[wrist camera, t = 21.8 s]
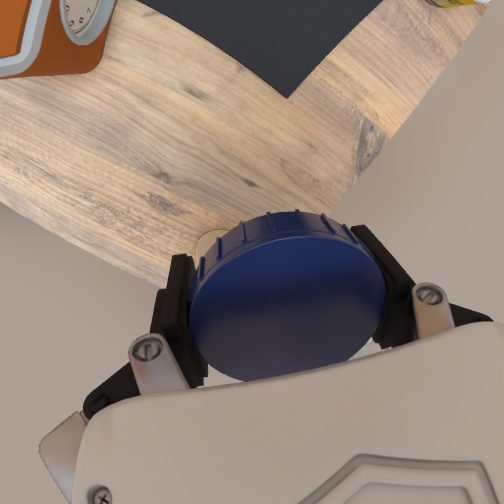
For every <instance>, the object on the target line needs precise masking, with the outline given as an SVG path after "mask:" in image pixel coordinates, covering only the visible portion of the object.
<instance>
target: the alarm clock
mask: <svg viewBox="0 0 504 504" xmlns="http://www.w3.org/2000/svg"><path fill="white" fill-rule="evenodd" d="M115 1H116V0H0V79H9V78H19V77H32V76H51V75H64V74H81V73H87V72H89V71H91V70H92V69H94V68H95V67H96V66H97V64H98V63H99V61H100V59H101V56H102V52H103V47H104V42H105V37H106V33H107V28H108V24H109V20H110V16H111V13H112V10H113V7H114V4H115Z"/></svg>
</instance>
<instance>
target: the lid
mask: <svg viewBox="0 0 504 504" xmlns="http://www.w3.org/2000/svg"><path fill="white" fill-rule="evenodd" d="M266 214H267V215H263V216H260V217H257V218H254V219H251V220H249V221H247V222H244V223H243V222H242V221H241V222H239V225H238V226H237V227H235V228H233V229H232V230H230V231H229V232H227V233H226V234H225V235H223V236H222V237H221V238H220V237H217V238H216V242H215V243H214V244H213V245H212V246H211V247H210V248H209V250H208V251H207V252H206V254H205V255H204V256H201V257H200V260H199V265H198V267H197V270H196V273H195V275H194V277H193V276H192V277H191V283H190V291H189V300H188V301H190V312H189V328H190V331H191V334H192V337H193V339H194V342H195V344H196V347H197V350H198V352H199V354H200V356H201V357H202V358H203V359H204V360H205V361H206V362H207V363H208V364H209V365H210V366H212V367H213V368H214V369H216V370H218V371H219V372H221V373H223V374H225V375H227V376H229V377H232V378H234V379H238V380H241V381H245V382H247V381H253V380H259V379H265V378H271V377H276V376H281V375H286V374H292V373H297V372H301V371H306V370H311V369H315V368H320V367H324V366H328V365H332V364H337V363H341V362H345V361H347V360H349V359H350V358H351V357H352V356H354V355H355V354H356V353H357V352H358V351H359V350H360V349H361V348H362V347H363V346H364V345H365V344H366V343H367V342H368V341H369V340H370V338H371V337H372V336H373V334H374V333H375V331H376V330H377V328H378V326H379V324H380V322H381V319H382V317H383V313H384V308H385V303H386V286H385V281H384V278H383V276H382V273H381V271H380V270H379V268H378V266H377V264H376V263H375V262H374V260H373V259H374V258H375V257H374V256H373V255H372V253H371V252H370V251H369V249H368V248H367V247H366V246H365V244H364V243H363V242H362V241H361V239H360V238H359V239H358V240H357V238H356V237H355V236H354V234H353V233H352V232H351V231H350V229H349V228H348V227H347V226H346V225H345V224H343V225H341V224H339V223H337V222H336V221H334V220H332V219H329V218H327V217H326V215H325V214H323V213H322V214H321V215H317V214H313V213H307V212H300V211H299V209H295V211H294V212H278V213H272V214H271V213H270V212H267V213H266Z"/></svg>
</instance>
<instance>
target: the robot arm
mask: <svg viewBox="0 0 504 504" xmlns="http://www.w3.org/2000/svg"><path fill="white" fill-rule="evenodd" d="M350 231H351V232H352V233H353V234H354V236H355V237H356V238H357V240H358V239H359V238H360V239H361V241H362V242H363V243H364V244H365V246H366V247H367V248H368V249H369V251H370V252H371V253H372V255H373V256H374V257H375V258H374V259H373V260H374V262H375V263H376V264H377V266H378V268H379V270H380V271H381V273H382V276H383V278H384V281H385V286H386V303H385V308H384V313H383V317H382V319H381V322H380V324H379V326H378V328H377V330H376V331H375V333H374V334H373V336H372V337H371V338H370V340H369V341H368V342H367V343H366V344H365V345H364V346H363V347H362V348H361V349H360V350H359V351H358V352H357V353H356V354H355V355H354V356H352V357H351V358H350V359H349V360H347V361H345V362H341V363H337V364H332V365H328V366H324V367H320V368H315V369H311V370H306V371H301V372H297V373H292V374H286V375H281V376H276V377H271V378H265V379H259V380H253V381H247V382H240V383H234V384H227V385H220V386H211V387H203V388H196V387H198V386H203V385H204V381H203V380H204V379H203V377H208V363H207V362H206V361H205V360H204V359H203V358H202V357H201V356H200V354H199V352H198V350H197V347H196V344H195V342H194V339H193V337H192V334H191V331H190V328H189V312H190V301H188V300H189V291H190V283H191V277H192V276H193V277H194V275H195V273H196V269H195V265H194V261H193V258H192V256H187V254H186V253H185V254H179V255H173V256H172V261H171V266H170V271H169V276H168V282H167V287H166V289H159V290H158V292H157V297H156V301H155V306H154V312H153V318H152V322H151V328H150V333H149V334H145V335H142V336H140V337H139V338H137V339H136V340H135V341H133V342H132V344H131V345H130V347H129V350H128V356H129V360H130V362H129V363H127V364H126V365H125V366H123V367H122V368H121V369H120V370H118V371H117V372H116V373H115V374H113V375H112V376H111V377H110V378H109V379H107V380H106V381H105V382H103V383H102V384H101V385H100V386H98V387H97V388H96V389H95V390H93V391H92V392H91V393H90V394H89V395H88V396H87V397H86V399H85V401H84V404H83V410H82V411H81V412H80V413H79V412H78V411H76V412H75V413H73V414H72V415H71V416H69V417H68V418H67V419H66V420H65V421H64V422H62V423H61V424H60V425H58V426H57V427H56V428H55V429H53V430H52V431H51V432H50V433H49V434H47V435H46V436H45V437H44V438H43V439H42V440H41V442H40V445H39V454H40V457H41V458H42V460H43V462H44V464H45V466H46V467H47V469H48V471H49V473H50V474H51V476H52V478H53V479H54V481H55V483H56V484H57V486H58V488H59V489H60V491H61V492H62V494H63V495H64V497H65V498H66V500H67V501H68V503H69V504H504V324H503V323H498V322H494V321H493V320H492V319H491V318H490V317H489V316H487V315H484V314H482V313H479V312H476V311H472V310H469V309H466V308H463V307H460V306H457V305H454V304H450V303H449V302H448V299H447V295H446V293H445V292H444V290H442V288H440V287H439V286H437V285H435V284H432V283H419V284H417V285H416V284H415V282H414V281H413V280H412V279H411V277H410V276H409V275H408V274H407V273H406V271H405V270H404V269H403V268H402V267H401V265H400V264H399V263H398V262H397V261H396V259H395V258H394V257H393V256H392V255H391V254H390V253H389V251H388V250H387V249H386V248H385V247H384V246H383V244H382V243H381V242H380V241H379V240H378V239H377V238H376V237H375V236H374V234H373V233H372V232H371V231H370V230H369V229H368V228H367V227H366V226H365V225H358V226H352V227H351V229H350ZM391 347H394V348H391Z"/></svg>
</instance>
